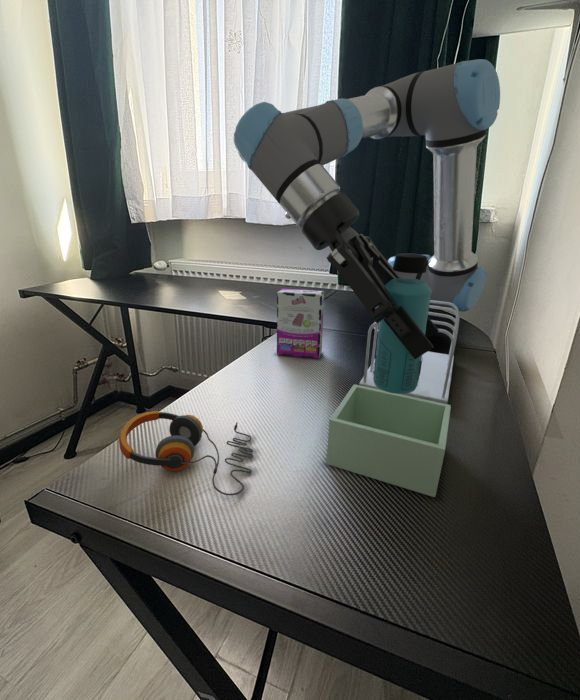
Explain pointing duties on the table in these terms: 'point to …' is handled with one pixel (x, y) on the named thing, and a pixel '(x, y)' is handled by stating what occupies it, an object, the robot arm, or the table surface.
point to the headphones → (178, 444)
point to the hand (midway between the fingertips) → (427, 343)
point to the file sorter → (425, 362)
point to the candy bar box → (300, 322)
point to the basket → (390, 438)
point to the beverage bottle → (391, 355)
